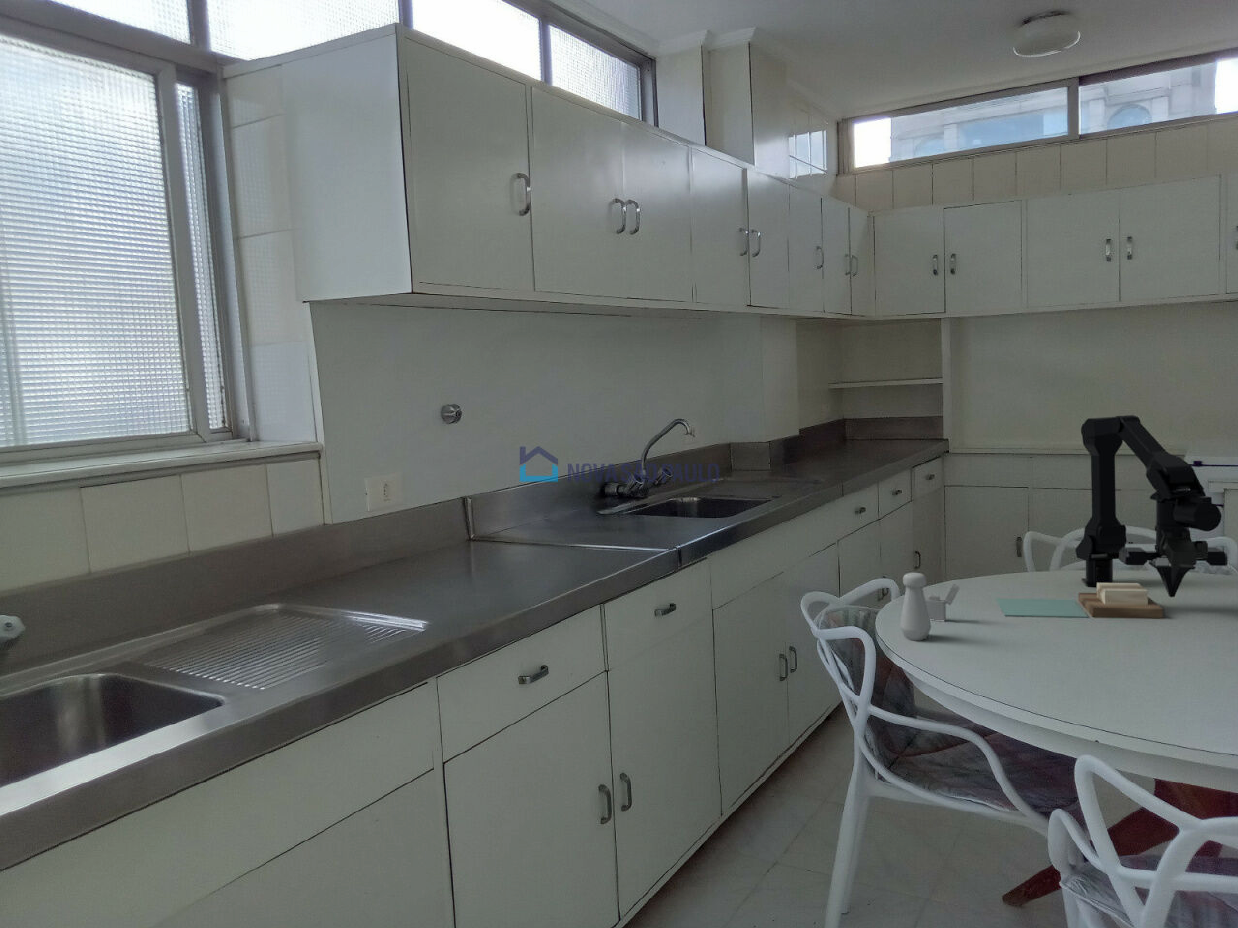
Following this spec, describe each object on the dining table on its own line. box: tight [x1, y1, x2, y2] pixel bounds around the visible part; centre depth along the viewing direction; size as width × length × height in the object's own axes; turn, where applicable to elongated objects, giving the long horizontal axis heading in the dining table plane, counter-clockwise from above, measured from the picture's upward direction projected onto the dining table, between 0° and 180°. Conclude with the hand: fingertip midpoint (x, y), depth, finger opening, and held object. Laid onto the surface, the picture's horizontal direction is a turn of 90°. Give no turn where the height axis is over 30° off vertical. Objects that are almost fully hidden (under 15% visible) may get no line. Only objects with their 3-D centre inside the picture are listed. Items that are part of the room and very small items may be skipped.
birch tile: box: [1096, 582, 1149, 605], centre depth 191 cm, size 7×8×3 cm
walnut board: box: [1078, 592, 1164, 620], centre depth 191 cm, size 13×13×2 cm
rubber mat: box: [995, 597, 1089, 619], centre depth 195 cm, size 14×16×1 cm
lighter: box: [925, 583, 961, 620], centre depth 189 cm, size 7×2×8 cm, turn 57°
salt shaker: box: [900, 572, 932, 641], centre depth 178 cm, size 6×6×13 cm
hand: (1171, 596), depth 188 cm, fingers closed
